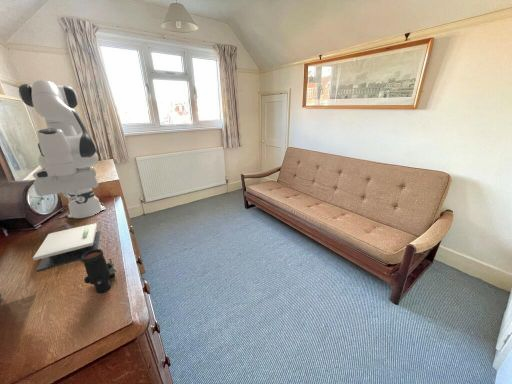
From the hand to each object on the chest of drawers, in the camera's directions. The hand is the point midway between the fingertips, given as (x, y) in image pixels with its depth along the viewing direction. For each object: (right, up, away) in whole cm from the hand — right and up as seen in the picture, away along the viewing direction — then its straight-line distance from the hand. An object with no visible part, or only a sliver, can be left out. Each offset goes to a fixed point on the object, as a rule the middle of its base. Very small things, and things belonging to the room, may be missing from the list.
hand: (73, 200), depth 92 cm
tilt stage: (-2, -17, 0) cm, 17 cm away
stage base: (-2, -22, +2) cm, 22 cm away
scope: (+27, -29, -20) cm, 44 cm away
